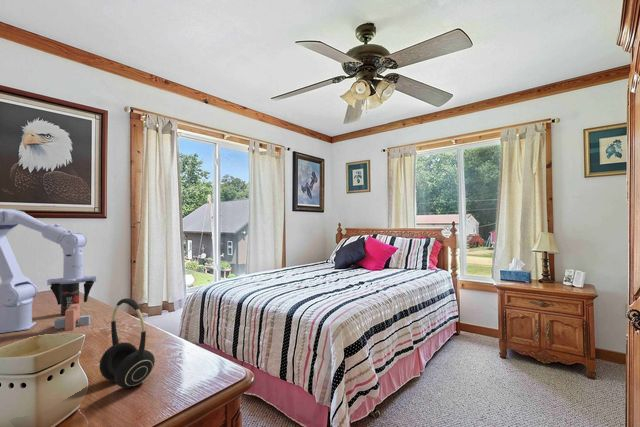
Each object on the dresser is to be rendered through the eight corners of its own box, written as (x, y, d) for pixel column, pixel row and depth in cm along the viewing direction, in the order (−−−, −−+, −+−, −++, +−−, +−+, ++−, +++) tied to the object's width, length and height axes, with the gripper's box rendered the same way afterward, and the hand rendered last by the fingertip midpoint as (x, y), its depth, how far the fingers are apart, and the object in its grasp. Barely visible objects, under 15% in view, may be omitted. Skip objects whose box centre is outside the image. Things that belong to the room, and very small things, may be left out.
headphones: (130, 367, 82) (130, 291, 83) (162, 382, 74) (162, 298, 75) (92, 382, 75) (93, 298, 75) (124, 400, 67) (124, 307, 67)
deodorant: (63, 316, 127) (63, 279, 127) (59, 313, 130) (59, 278, 131) (80, 313, 131) (81, 277, 132) (76, 310, 135) (76, 275, 135)
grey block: (54, 329, 112) (54, 320, 112) (56, 327, 114) (56, 318, 114) (88, 324, 116) (88, 316, 117) (90, 322, 119) (90, 314, 119)
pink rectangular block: (65, 330, 110) (65, 310, 110) (72, 322, 119) (72, 304, 119) (73, 329, 111) (73, 309, 111) (79, 321, 120) (80, 303, 120)
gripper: (44, 269, 109) (43, 308, 109) (95, 266, 115) (94, 302, 115) (50, 266, 115) (50, 303, 115) (98, 263, 122) (98, 298, 121)
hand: (72, 302), depth 115 cm, fingers open, 7 cm apart
